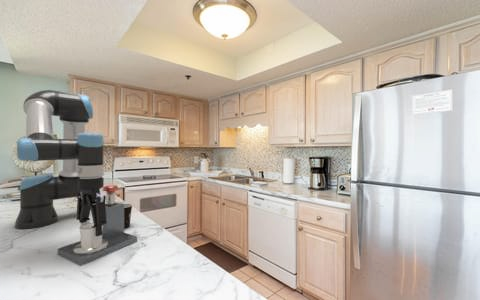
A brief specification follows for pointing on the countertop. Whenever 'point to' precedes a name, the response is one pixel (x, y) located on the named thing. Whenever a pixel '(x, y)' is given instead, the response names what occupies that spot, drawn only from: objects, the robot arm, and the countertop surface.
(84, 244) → the white tapered cup
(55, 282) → the countertop surface
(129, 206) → the coffee mug
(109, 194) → the ram
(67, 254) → the press
